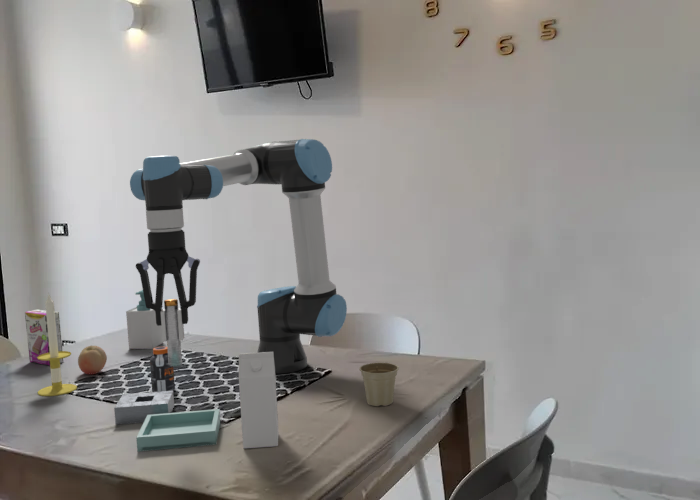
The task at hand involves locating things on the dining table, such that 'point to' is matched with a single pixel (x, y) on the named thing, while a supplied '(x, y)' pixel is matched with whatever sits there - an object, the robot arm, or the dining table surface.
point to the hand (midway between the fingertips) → (173, 339)
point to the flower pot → (379, 382)
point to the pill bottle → (161, 371)
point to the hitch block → (142, 406)
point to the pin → (172, 332)
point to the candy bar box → (40, 335)
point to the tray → (179, 430)
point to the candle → (54, 357)
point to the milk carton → (258, 400)
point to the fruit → (92, 360)
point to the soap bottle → (143, 326)
